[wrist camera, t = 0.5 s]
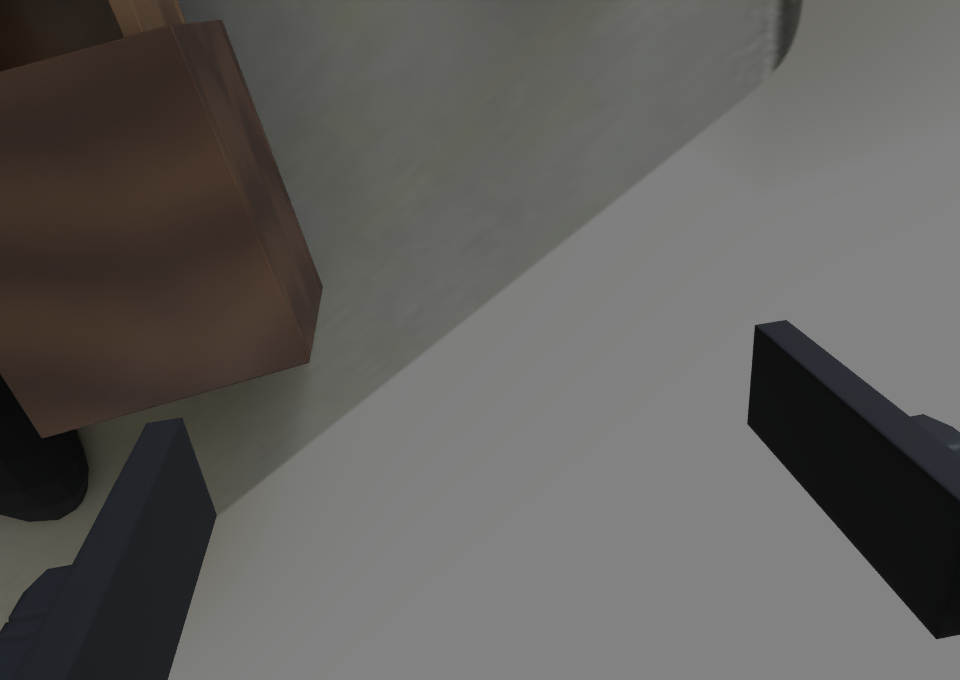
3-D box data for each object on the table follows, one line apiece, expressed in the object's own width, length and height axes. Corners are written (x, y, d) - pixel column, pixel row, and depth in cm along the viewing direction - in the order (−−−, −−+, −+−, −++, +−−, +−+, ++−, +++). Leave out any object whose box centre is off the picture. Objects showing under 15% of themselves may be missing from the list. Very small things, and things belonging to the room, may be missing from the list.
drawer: (-123, -87, 31) (-273, -116, 23) (136, -158, 31) (65, -206, 24) (51, 231, 37) (-25, 284, 30) (264, 172, 37) (238, 210, 30)
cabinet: (-30, 89, 35) (-167, 117, 26) (222, 19, 35) (171, 24, 26) (112, 347, 41) (41, 439, 32) (323, 287, 41) (309, 363, 33)
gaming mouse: (44, 293, 39) (12, 322, 36) (102, 506, 46) (79, 549, 42) (-79, 298, 39) (-124, 328, 35) (-3, 514, 45) (-35, 558, 41)
